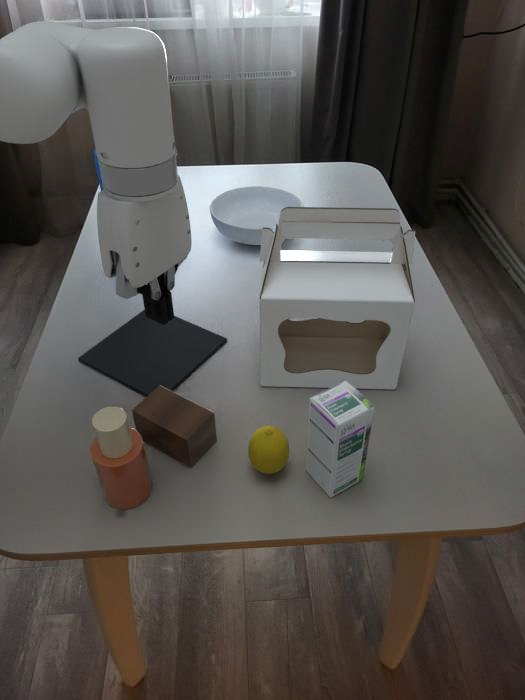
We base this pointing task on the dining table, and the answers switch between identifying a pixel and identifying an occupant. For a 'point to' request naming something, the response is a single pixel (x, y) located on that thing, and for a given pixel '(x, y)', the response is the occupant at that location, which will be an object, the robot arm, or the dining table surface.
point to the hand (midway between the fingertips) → (160, 317)
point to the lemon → (268, 449)
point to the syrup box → (338, 437)
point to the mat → (153, 353)
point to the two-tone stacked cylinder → (120, 459)
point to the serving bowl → (250, 211)
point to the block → (175, 425)
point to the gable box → (335, 300)
